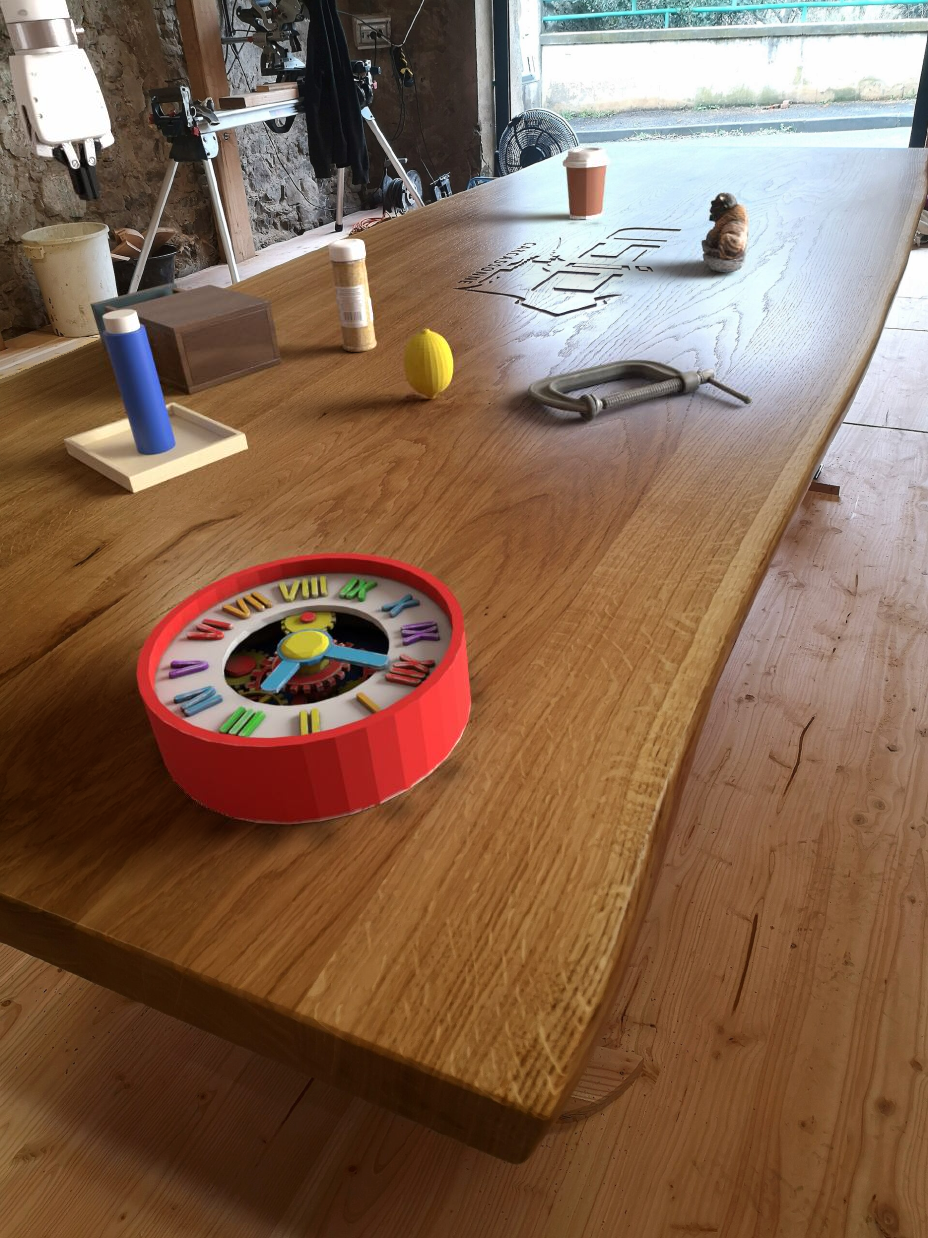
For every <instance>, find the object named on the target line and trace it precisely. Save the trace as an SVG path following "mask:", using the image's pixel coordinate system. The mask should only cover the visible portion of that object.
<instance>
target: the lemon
mask: <svg viewBox="0 0 928 1238" xmlns="http://www.w3.org/2000/svg"><path fill="white" fill-rule="evenodd" d="M404 349H405V350H404V355H403V369H404V370H403V371H404V374H405V378H406V380H407V382H408V384H409V386H410V387H411V388H412V389H413V390H414V391H415V392H416V393H418V394H421V395H424V396H425V397H427V398H428V399H429V400H434V399H436V397H437V396H438V394H440V393H442V392H443V391H445V390H446V388H447V387H448V386H449V385H450V383H451V381H452V379H453V373H454V358H453V354H452V350H451V347H450V346H449V343H448V342H447V340H446V339H445V338H444V337H443V336H442V335H440V334H439V333H437V332H435V331H431V330H430V329H429V328H422V329H421V331H419V332H417V333H416V334H415V335H413V336H412V337H411V338H410V339H409V341H408V342H407V344H406V346H405V348H404Z"/></svg>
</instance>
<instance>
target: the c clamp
mask: <svg viewBox="0 0 928 1238" xmlns="http://www.w3.org/2000/svg"><path fill="white" fill-rule="evenodd" d="M715 376H716V374H715V372H714V370H713V369H712V368H708V369H704V370H701V369H699V370H697V371H694V370H689V371H684V372H683V371H681V370H679V369H678V368H676V367H674V366H671V365H668V364H665V363H663V362H659V361H655V360H650V359H649V360H647V359H625V360H624V359H623V360H616V361H612V362H608V363H603V364H599V365H594V366H591V367H585V368H582V369H578V370H574V371H569V372H565V373H561V374H556V375H551V376H548V377H544V378H541V379H539V380H536V381H534V382H533V383H531V384H530V385H529V386H528V389H527V394H528V396H529V398H530V399H531V400H533V401H534V402H537V403H538V404H541V405H543V406H545V407H549V408H552V409H555V410H559V411H565V412H571V413H579V415H580V416H581V418H582V419H583V420H584V421H587V422H590V421H593V420H595V418H596V417H597V415H598V414H599V413H601V412H602V410H603V411H608V410H610V409H611V410H612V409H615V408H620V407H623V406H627V405H630V404H631V405H632V404H635V403H638V402H642V401H645V400H649V399H653V398H656V397H660V396H664V395H668V394H672V393H676V392H677V393H678V394H686V393H687V394H688V393H690V392H695V391H697V390H698V388H699V387H700V386H702V385H707V384H710V385H712V386H713V387H715V388H717V389H719V390H721V391H722V392H724V393H727V394H728V395H730V396H732V397H734V398H736V399H738V400H740V401H742V402H743V404H745V405H750V404H751V403H752V402H753V397H752V396H750V395H746V394H745V393H742V392H740V391H738V390H736V389H735V388H733V387H731V386H729V385H727V384H725V383H723V382H722V381H719V380H718V379H715V378H716V377H715ZM627 378H637V379H644V380H648V381H650V382H651V381H652V382H654V383H653V384H649V385H645V386H641V387H638V388H634V389H631V390H626V391H623V392H618V393H615V394H612V395H607V396H604V397H601V398H600V399H598V398H597V396H596V395H595V394H593V393H590V394H588V393H584V394H582V395H581V396H579V397H578V398H575V397H573V396H570V395H566V394H564V393H567V392H570V391H575V390H579V389H583V388H589V387H592V386H596V385H600V384H603V383H607V382H612V381H615V380H619V379H627Z"/></svg>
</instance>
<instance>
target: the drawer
mask: <svg viewBox="0 0 928 1238" xmlns="http://www.w3.org/2000/svg"><path fill="white" fill-rule="evenodd" d="M183 291H187V290H186V289H182V288H178V286H177V283H174V282H169V283H165V284H162V285H157V286H153V287H150V288H146V289H142V290H139V291H134V292H130V293H127V294H123V295H119V296H115V297H110V298H107V299H103V300H99V301H95V302H92V303H90V308H91V311H92V314H93V318H94V321H95V325H96V328H97V331H98V334H99V338H100V341H101V344H102V348H103V351H106V352H108V350H107V346H106V343H105V340H104V336H103V331H105V330H106V328H105V324H104V321H103V318H102V317H103V315H104V314H106V313H109V312H112V311H117V309H119V308H123V307H127V306H131V305H134V304H138V303H142V302H146V301H150V300H153V299H157V298H161V297H165V296H168V295H172V294H176V293H180V292H183Z"/></svg>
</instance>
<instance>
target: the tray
mask: <svg viewBox="0 0 928 1238" xmlns="http://www.w3.org/2000/svg"><path fill="white" fill-rule="evenodd" d="M165 405H166V409H167V412H168V416H169V420H170V424H171V427H172V431H173V435H174V438H175V442H176V445H175V446H174V447H173V448H172V449H170V450H168V451H166V452H163V453H159V454H153V455H145V454H141V453H139V452H138V451H137V448H136V444H135V441H134V437H133V434H132V431H131V427H130V424H129V421H128V417H125V418H122V419H119V420H116V421H114V422H110V423H108V424H105V425H102V426H98V427H96V428H92V429H90V430H87V431H84V432H80V433H79V434H75V435H73V436H69V437H67V438H63V442H64V445H65V448H66V451H67V454H68V455H70V456H71V457H73V458H74V459H76V460H78V461H80V462H81V463H83V464H85V465H86V466H88V467H90V468H91V469H92V470H95V471H96V472H98V473H99V474H101V475H103V476H104V477H106V478H108V479H109V480H111V481H113V482H114V483H116V484H118V485H119V486H121V487H123V489H126V490H128V492H129V491H130V492H131V493H133V494H135V493H138V492H140V491H143V490H146V489H149V488H151V487H153V486H157V485H159V484H161V483H164V482H165V481H169V480H171V479H174V478H176V477H179V476H182V475H184V474H187V473H189V472H191V471H194V470H196V469H200V468H202V467H204V466H207V465H209V464H212V463H215V462H217V461H221V460H222V459H225V458H227V457H230V456H233V455H236V454H238V453H240V452H243V451H246V450H248V449H249V447H248V441H247V438H246V434H245V433H244V432H242V431H240V430H237V429H235V428H233V427H230V426H228V425H226V424H224V423H221V422H219V421H217V420H214V419H212V418H210V417H208V416H205V415H204V414H202V413H199V412H197V411H194V410H192V409H190V408H188V407H186V406H183V405H182V404H181V405H180V404H178V403H176V402H174V401H173V402H170V403H167V404H166V403H165Z"/></svg>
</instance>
